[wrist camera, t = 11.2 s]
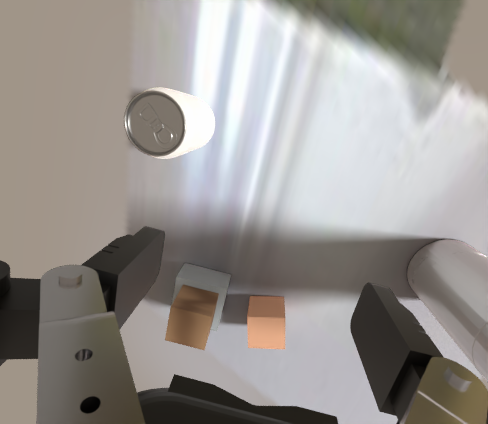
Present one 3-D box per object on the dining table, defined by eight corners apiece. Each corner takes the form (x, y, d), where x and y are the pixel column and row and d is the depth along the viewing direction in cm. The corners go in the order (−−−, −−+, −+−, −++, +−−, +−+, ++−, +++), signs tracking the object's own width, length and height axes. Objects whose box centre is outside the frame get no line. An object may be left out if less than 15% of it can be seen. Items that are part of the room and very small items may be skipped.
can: (188, 159, 39) (153, 175, 28) (155, 118, 38) (104, 117, 27) (226, 127, 37) (205, 131, 26) (193, 84, 36) (156, 67, 25)
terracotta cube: (283, 296, 44) (285, 317, 39) (283, 325, 45) (285, 349, 41) (250, 295, 44) (247, 316, 40) (250, 324, 46) (248, 347, 41)
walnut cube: (219, 293, 40) (211, 316, 35) (212, 323, 42) (204, 350, 37) (183, 284, 40) (170, 306, 35) (177, 314, 42) (165, 340, 37)
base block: (231, 274, 43) (227, 289, 40) (221, 313, 46) (216, 331, 42) (184, 262, 44) (176, 276, 40) (177, 302, 46) (168, 319, 42)
